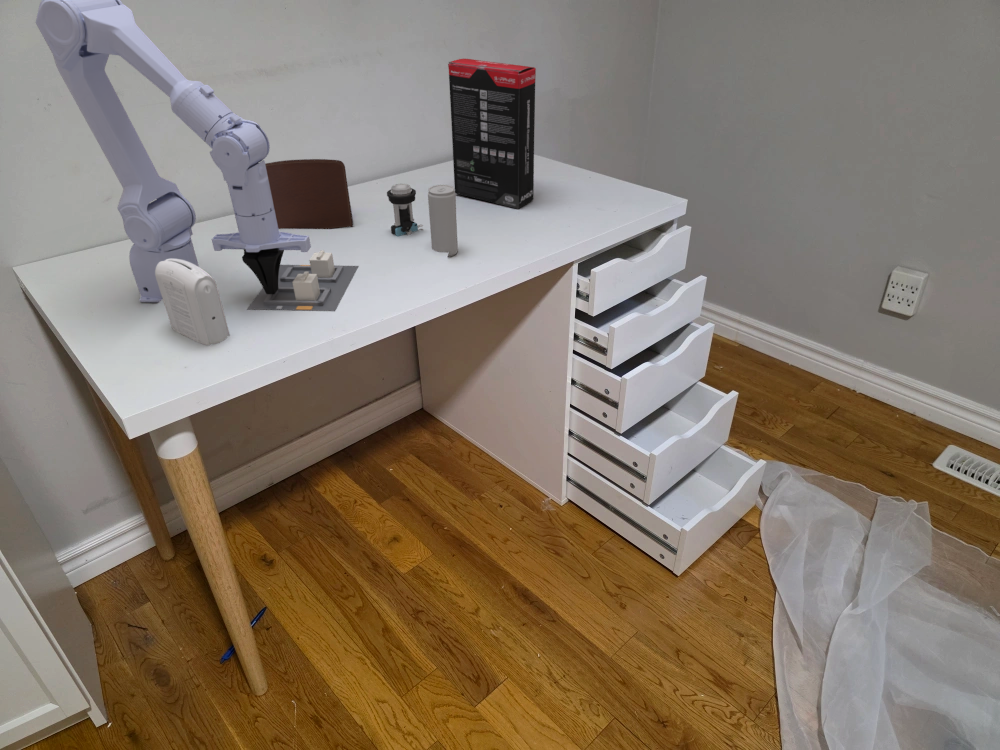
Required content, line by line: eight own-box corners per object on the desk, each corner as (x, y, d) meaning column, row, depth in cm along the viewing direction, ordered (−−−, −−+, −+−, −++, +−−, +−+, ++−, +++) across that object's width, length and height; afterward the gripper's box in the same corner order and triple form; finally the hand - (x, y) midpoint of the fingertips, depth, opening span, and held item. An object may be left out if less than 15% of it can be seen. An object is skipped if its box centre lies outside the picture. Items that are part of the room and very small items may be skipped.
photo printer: (236, 342, 102) (216, 265, 95) (211, 355, 99) (188, 277, 92) (194, 322, 107) (172, 248, 100) (169, 334, 104) (144, 259, 97)
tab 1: (296, 302, 109) (291, 279, 107) (302, 293, 112) (297, 270, 110) (315, 302, 109) (310, 279, 107) (320, 293, 112) (316, 271, 109)
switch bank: (248, 316, 108) (245, 306, 107) (281, 270, 122) (279, 261, 121) (336, 317, 108) (334, 307, 107) (359, 272, 121) (358, 262, 120)
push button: (415, 228, 137) (411, 178, 131) (430, 236, 133) (427, 185, 128) (386, 237, 133) (380, 186, 128) (401, 245, 130) (396, 194, 124)
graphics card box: (536, 200, 148) (538, 63, 133) (519, 211, 143) (519, 70, 128) (470, 187, 156) (465, 55, 140) (452, 196, 151) (445, 61, 136)
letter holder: (353, 227, 138) (343, 156, 130) (250, 239, 134) (233, 166, 126) (350, 209, 146) (340, 142, 138) (252, 220, 142) (236, 150, 134)
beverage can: (427, 256, 126) (422, 192, 119) (438, 245, 130) (434, 183, 123) (452, 259, 124) (448, 195, 118) (462, 249, 128) (459, 185, 121)
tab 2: (312, 279, 116) (308, 257, 114) (317, 271, 118) (314, 249, 116) (330, 279, 116) (326, 257, 114) (335, 271, 118) (331, 250, 116)
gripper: (195, 219, 100) (218, 302, 107) (293, 220, 99) (309, 304, 107) (214, 201, 106) (235, 281, 113) (308, 202, 105) (322, 283, 112)
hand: (272, 291), depth 110 cm, fingers closed
